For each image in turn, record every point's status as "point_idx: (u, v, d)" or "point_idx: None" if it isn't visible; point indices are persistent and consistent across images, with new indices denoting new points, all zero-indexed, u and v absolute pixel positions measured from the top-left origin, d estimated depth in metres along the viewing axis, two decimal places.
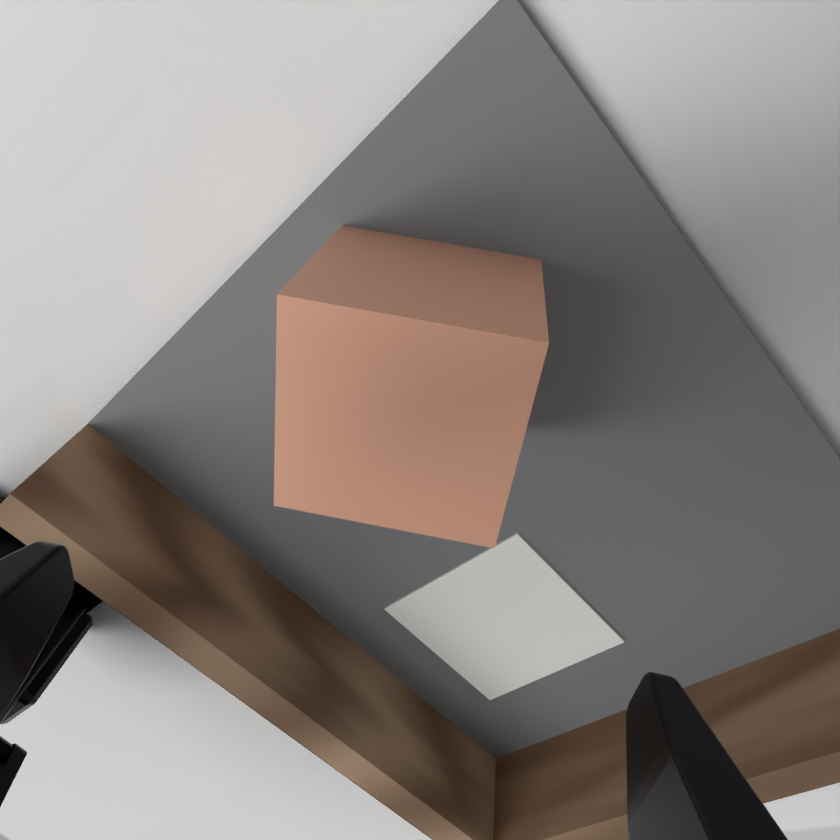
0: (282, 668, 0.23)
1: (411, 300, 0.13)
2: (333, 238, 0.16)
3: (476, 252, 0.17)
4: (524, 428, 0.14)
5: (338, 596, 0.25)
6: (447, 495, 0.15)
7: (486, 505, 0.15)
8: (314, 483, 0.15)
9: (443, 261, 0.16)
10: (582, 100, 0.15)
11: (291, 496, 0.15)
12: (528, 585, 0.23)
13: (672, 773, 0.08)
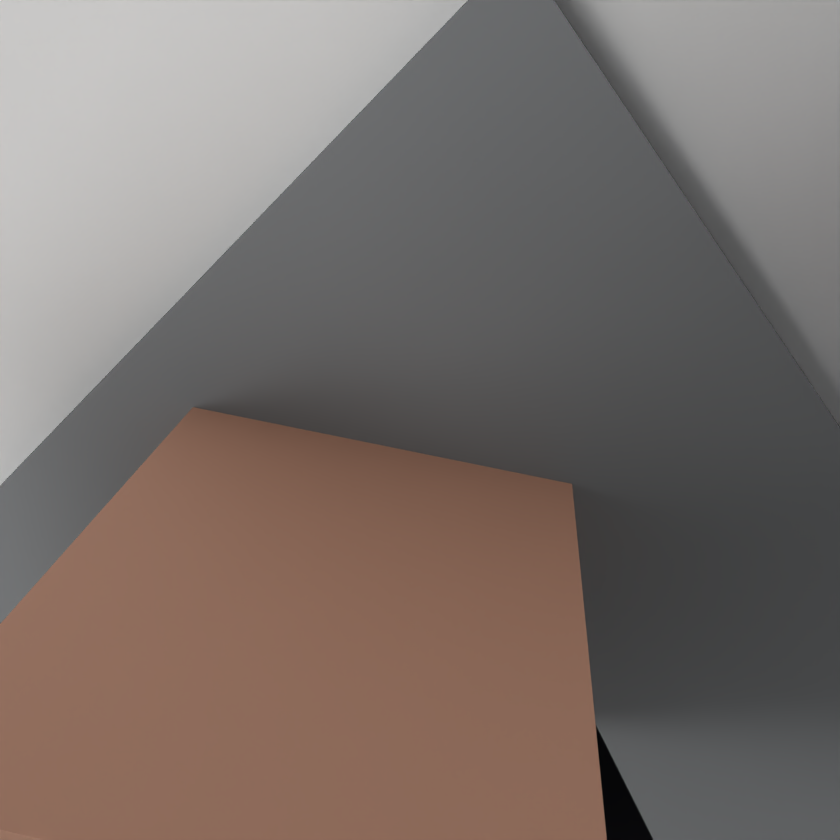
0: None
1: (252, 748, 0.05)
2: (154, 459, 0.08)
3: (446, 473, 0.09)
4: None
5: None
6: None
7: None
8: None
9: (374, 521, 0.08)
10: (676, 200, 0.07)
11: None
12: None
13: None
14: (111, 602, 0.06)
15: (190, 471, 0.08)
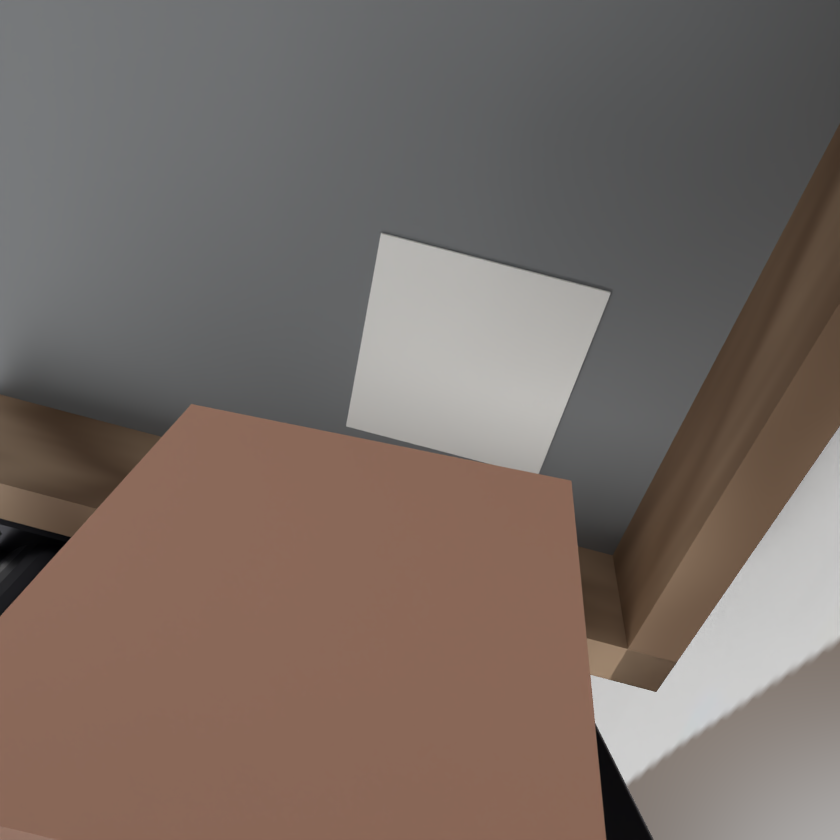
0: None
1: (251, 744, 0.05)
2: (151, 456, 0.08)
3: (445, 470, 0.09)
4: None
5: None
6: None
7: None
8: None
9: (372, 518, 0.08)
10: None
11: None
12: (446, 292, 0.18)
13: None
14: (108, 598, 0.06)
15: (188, 468, 0.08)
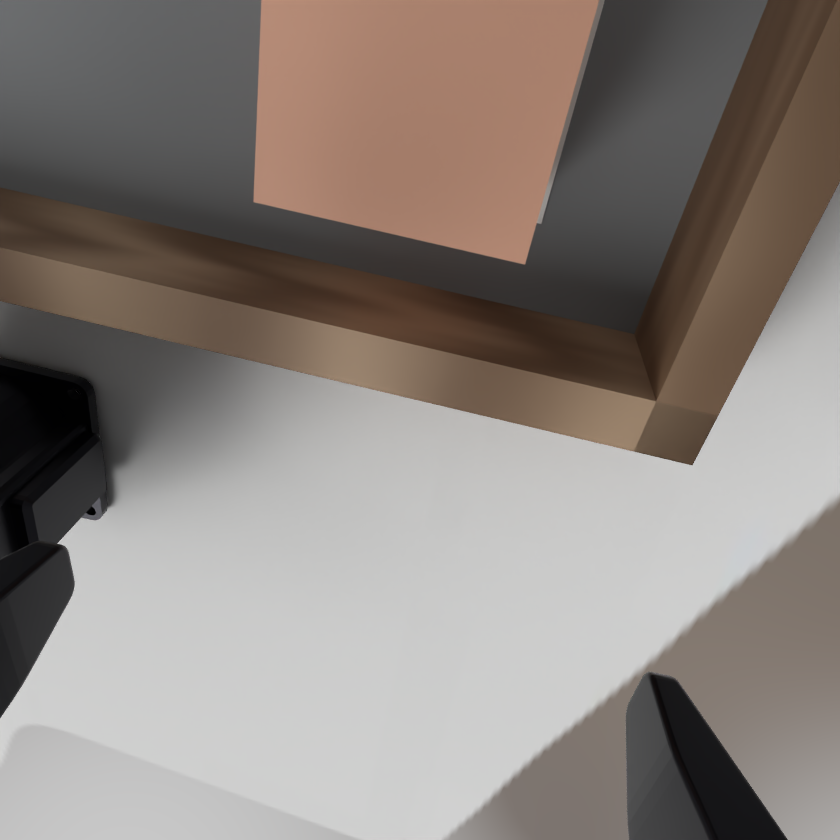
0: (195, 276, 0.16)
1: None
2: None
3: None
4: (578, 63, 0.11)
5: None
6: (471, 179, 0.12)
7: (520, 195, 0.12)
8: (305, 164, 0.12)
9: None
10: None
11: (276, 187, 0.12)
12: None
13: (672, 773, 0.08)
14: None
15: None
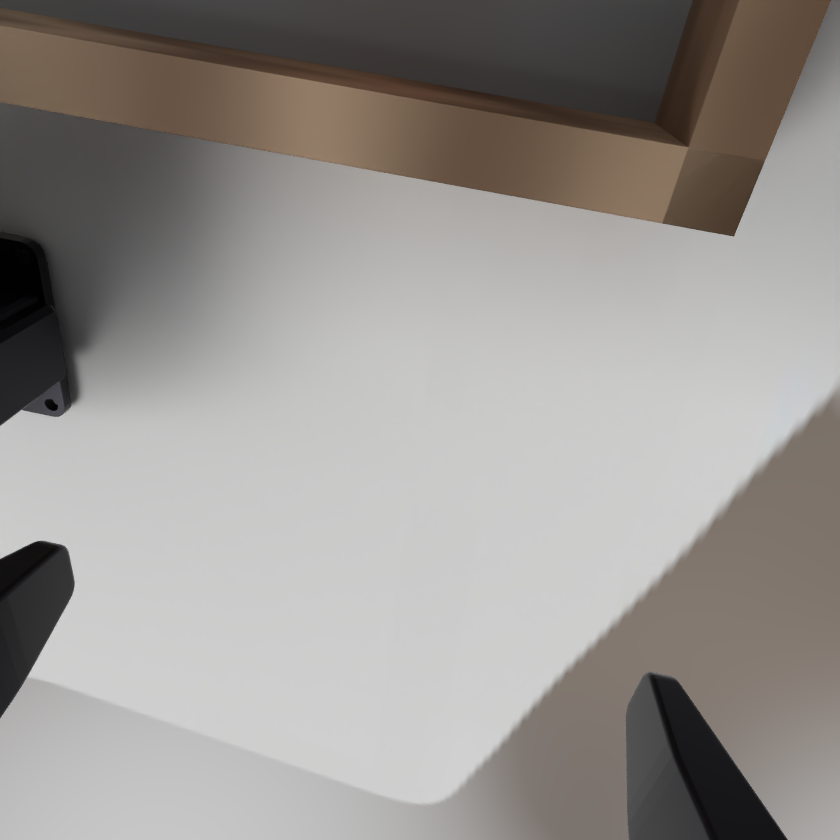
0: (133, 44, 0.14)
1: None
2: None
3: None
4: None
5: None
6: None
7: None
8: None
9: None
10: None
11: None
12: None
13: (672, 773, 0.08)
14: None
15: None
